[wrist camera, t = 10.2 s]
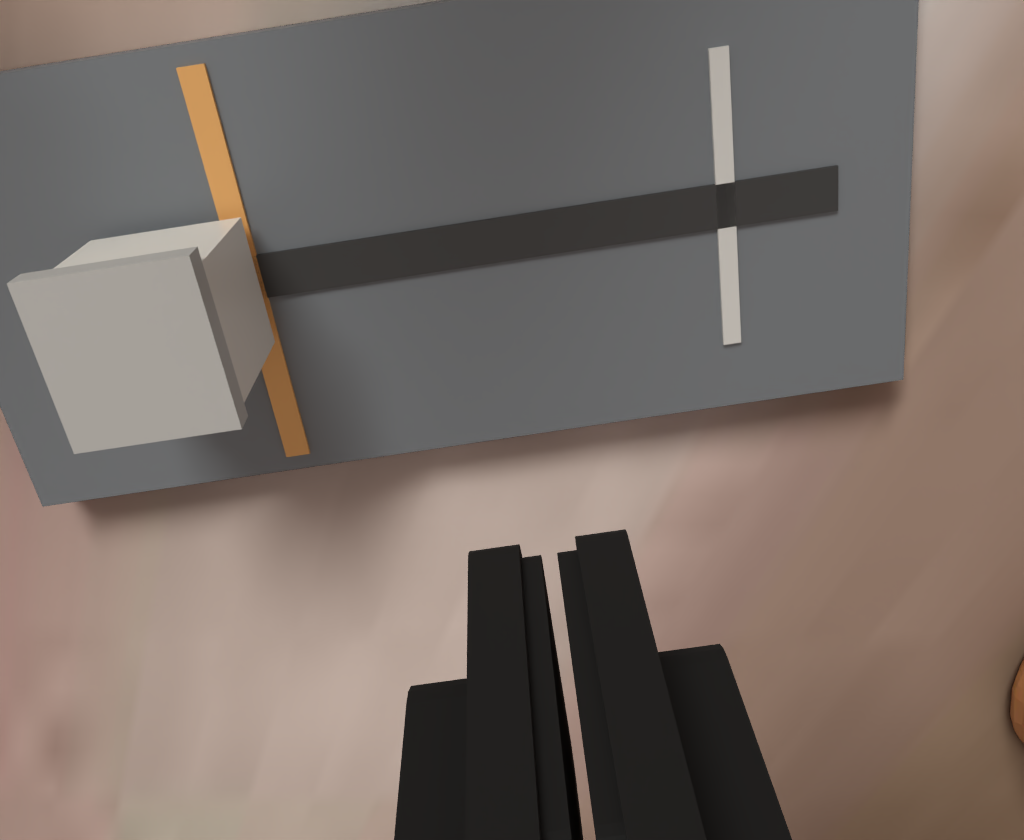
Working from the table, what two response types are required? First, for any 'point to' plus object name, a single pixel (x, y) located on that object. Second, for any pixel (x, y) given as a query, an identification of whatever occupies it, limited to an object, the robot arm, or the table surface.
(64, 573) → the table surface
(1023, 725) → the donut
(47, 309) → the fader tab
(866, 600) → the table surface
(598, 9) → the fader console
